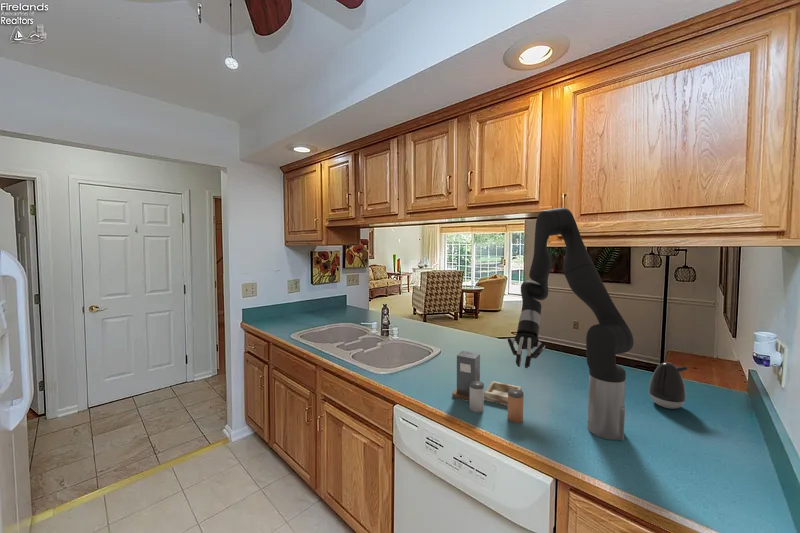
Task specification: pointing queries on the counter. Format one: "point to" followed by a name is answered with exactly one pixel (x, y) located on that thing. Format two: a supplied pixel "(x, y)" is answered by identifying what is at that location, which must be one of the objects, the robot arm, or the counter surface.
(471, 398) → the cylinder
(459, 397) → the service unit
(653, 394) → the pump dispenser
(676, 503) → the counter surface
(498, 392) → the tray
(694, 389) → the counter surface
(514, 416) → the cylinder
